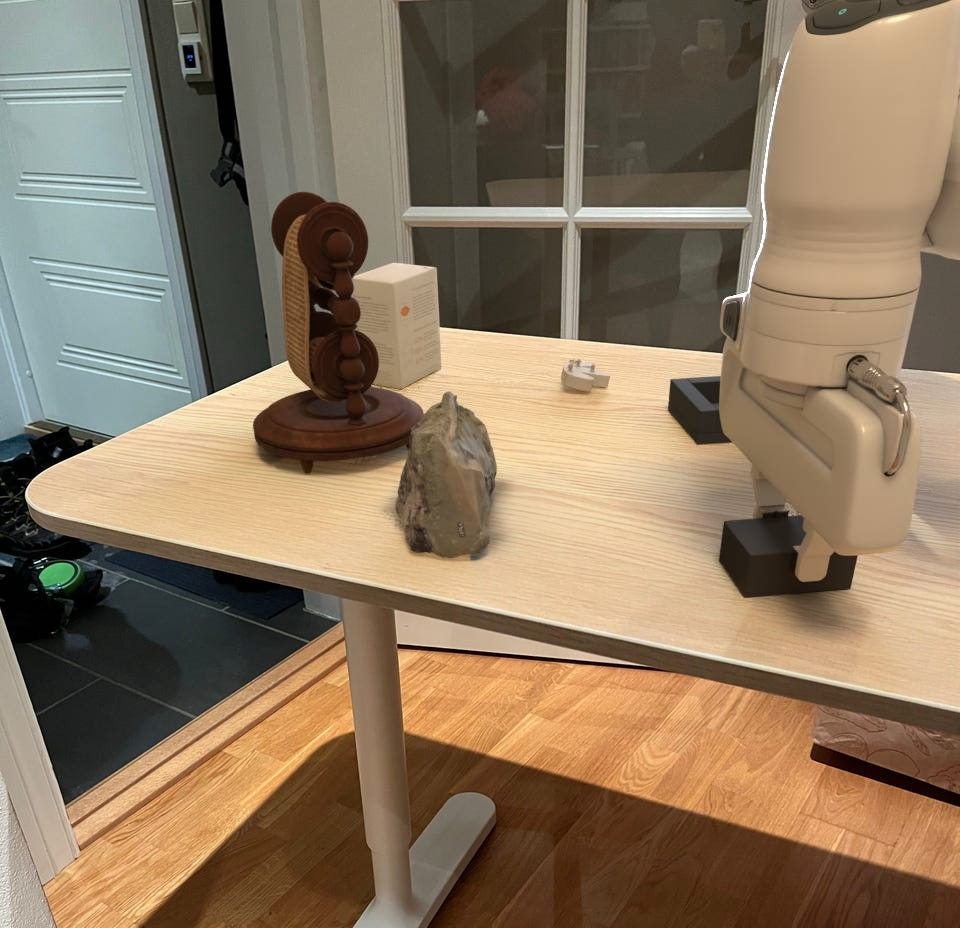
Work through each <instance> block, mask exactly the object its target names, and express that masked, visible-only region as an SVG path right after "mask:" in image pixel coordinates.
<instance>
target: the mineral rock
mask: <svg viewBox="0 0 960 928" xmlns="http://www.w3.org/2000/svg"><path fill="white" fill-rule="evenodd" d="M457 399H458V396H457V394H454V393H453V392H452V391H445V392H444V393H443V394H442V397H441V401H440V402H437V403H435V404H433V405H430V407H429V408H428V409H427V410H426V411H425V413H424V415H423V417H422V419H421V421H419V422H418V423H417V424H416V425H415V426H414V427H413V428H412V431H411V433H410V446H409V450H408V451H407V458H406V459H405V462H404V465H403V468H402V472H401V474H400V479H399V483H398V484H399V485H398V489H397V497H396V499H395V506H394V509H395V512H396V514H397V516H398V518H399V519H400V521H401V523H402V528H403V529H404V531H403V533H404V540H405V543H406V544H407V546H408V547H409V550H410V552H412V553H416V554H424V553H425V554H426V553H428V554H431V553H432V554H433V555H435V556H438V557H440V558H445V559H455V558H459V557H460V558H461V557H463V556H466V555H467V556H468V555H472V554H479V553H481V551H483V550H485V549H486V548H487V547H488V545H489V543H490V542H491V541H490V540H491V539H490V537H491V535H490V507H491V501H490V496H491V495H492V494H493V492H494V490H495V488H496V476H497V472H498V465H497V461H496V456H495V453H494V452H495V451H494V448H493V446H492V445H491V439H490V435H489V433H488V429H487V427H486V424H485V423H484V422H483V421H482V420H481V419H480V418H478V417H477V416H476V415H475V413H474V411H473V410H470V409H469V408H467V407H464V406H463V405H461V404H459V403H458V401H457Z"/></svg>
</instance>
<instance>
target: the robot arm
mask: <svg viewBox="0 0 960 928" xmlns="http://www.w3.org/2000/svg"><path fill="white" fill-rule="evenodd" d="M761 203H762V209H763V218H764V220H763V234H762V239H761V243H760V246H759V250H758V252H757V255H756V257H755V259H754V261H753V265H752V267H751V272H750V279H749V285H748V286H749V287H748V291H747V292H744V293H740V294H737V295H733V296H727V297H725V298H724V300H723V301H722V304H721V310H720V317H719V329H720V331H721V333H722V334H723V335H724V336H726V339H725V341H724V345H723V348H722V356H721V367H720V376H721V379H720V398H719V413H720V420H721V425H722V430H723V433H724V434H725V435H726V436H727V437H728V438H729V439H730V440H731V441H732V442H731V443H733V445H734V446H735V447H736V448H737V449H738V450H739V452H741V453H742V454H743V455H744V456H745V457H746V459H747V460H748V461H749V462H750V463H751V468H750V477H751V484H752V485H751V486H752V494H753V500H754V509H753V516H752V519H756V518H770V517H784V516H790V509H789V508H788V507H787V506H786V501H787V502H788V503H789V504H790V506H792V508H793V509H794V510H795V511H796V512H797V513H798V514H799V515H801V516H802V517H803V518H804V522H803V530H804V531H805V532H806V535H805V537H804V539H803V541H802V543H801V545H799V546H792V555H791V561H790V569H791V570H792V572H793V573H794V574H795V575H796V577H797V578H798V579H799V580H800V581H802V582H808V581H819V580H822V579H823V578H824V577H825V576H826V573H827V568H828V563H829V559H830V555H832V554H833V552H834V551H835V552H836V553H838V554H839V555H844V556H853V555H858V556H870V555H879V554H887V553H891V552H894V551H895V550H896V549H898V548H899V547H900V546H901V545H903V543H904V542H905V541H906V540H907V538H908V534H909V532H910V527H911V522H912V517H913V512H914V507H915V500H916V495H917V488H918V481H919V473H920V466H921V457H922V440H923V439H922V431H921V429H922V428H921V426H920V425H921V424H920V421H919V420H918V418H917V415H916V414H915V413H914V412H913V411H912V410H911V409H910V405H909V401H908V399H907V394H908V390H907V387H906V385H905V384H904V383H903V382H902V381H901V380H900V379H899V378H898V377H897V378H896V376H898V375H899V374H900V373H901V371H902V367H903V363H904V359H905V354H906V349H907V345H908V340H909V336H910V332H911V327H912V322H913V319H914V314H915V309H916V305H917V300H918V296H919V291H920V287H921V281H922V261H921V252H922V253H927V254H934V255H939V256H942V257H943V258H946V259H950V260H957V261H960V0H827V1H824V2H823V3H820V4H819V5H817V6H815V8H814V9H813V10H811V11H810V12H809V13H808V14H807V15H805V16H804V17H803V19H802V20H801V21H800V23H799V25H798V27H797V30H796V31H795V34H794V36H793V39H792V41H791V43H790V46H789V49H788V52H787V55H786V58H785V61H784V64H783V68H782V72H781V75H780V80H779V83H778V87H777V92H776V96H775V100H774V106H773V109H772V117H771V122H770V126H769V133H768V138H767V146H766V152H765V159H764V166H763V174H762V183H761Z"/></svg>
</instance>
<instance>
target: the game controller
mask: <svg viewBox="0 0 960 928" xmlns="http://www.w3.org/2000/svg"><path fill="white" fill-rule="evenodd" d="M595 368H596V365H595V363H593V362H590V361H582V359H580V358H578V359H569V360H566V361H565V362H564V363H563V366H562V371H561V374H560V376H559V375H558V378H560V380H561V382H562V383H563V385H564V386H566V387H568V388H572V389H576V390H579V391H584V392H592V388H593V387H599V388H608V387H609V382H610V378H611V374H610V373H608V372H605V371H601V370H598V369H595ZM539 374H541V372H539V373H536V375H539ZM543 374H544V375H548V376H550V377H552V378H553V376H552V375H550V374H549V373H547V372H545V373H544V372H543ZM532 376H535V373H533V374H531V375H530V377H532ZM502 379H503V380H509V381H510V382H512V383H513V381H512V380H511V379H510V378H506V377H503V378H500V380H502ZM496 380H498V378H496V379H494V381H496ZM526 381H528V379H527V380H525V382H526ZM492 382H493V380H491V382H490V383H492ZM522 382H524V380H523V381H520V383H522Z"/></svg>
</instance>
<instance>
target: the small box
mask: <svg viewBox="0 0 960 928" xmlns="http://www.w3.org/2000/svg"><path fill="white" fill-rule="evenodd" d="M352 281H353V284H354V292H353V294H352V296H351V297H353V298H355V299H356V300H357V301H358V303H359V306H360V310H361V316H360V320H359V321H358V322H357V323H356V324H357V325H358V327H357V328H356V329H355V330H357V331H360V332H362V333H363V334H365V335H366V336H368V337H369V338H370V340H371V341H372V342H373V343H374V345H375V347H376V349H377V352H378V357H379V368H378V373H377V376H376V378H375V380H374V382H373V384H372V385H375V386H381V387H386V388H391V389H395V390H402V389H403V388H405V387H407V386H410V385H411V384H413V383H415V382H417V381H419V380H421V379H423V378H425V377H427V376H429V375H431V374H433V373H435V372H436V371H439V370H441V368H442V350H441V349H442V346H441V325H440V309H439V308H440V307H439V289H438V269H437V267H436V266H427V265H418V264H409V263H400V262H391V263H389V264H385V265H383V266H379V267H377V268H374V269H371V270H367V271H365V272H361V273H359V274H355V275H354V277H353V279H352Z"/></svg>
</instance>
